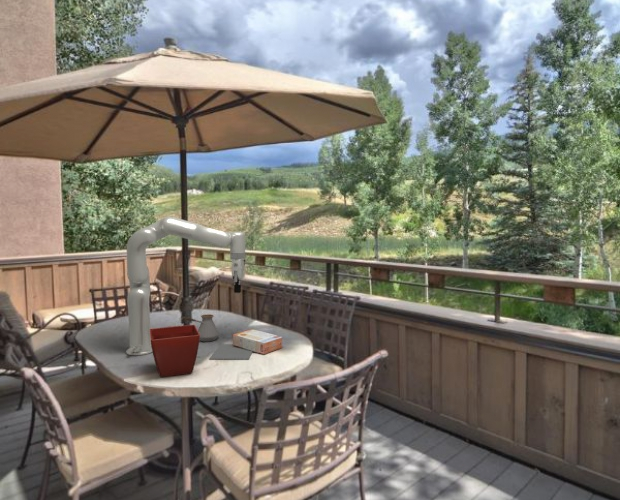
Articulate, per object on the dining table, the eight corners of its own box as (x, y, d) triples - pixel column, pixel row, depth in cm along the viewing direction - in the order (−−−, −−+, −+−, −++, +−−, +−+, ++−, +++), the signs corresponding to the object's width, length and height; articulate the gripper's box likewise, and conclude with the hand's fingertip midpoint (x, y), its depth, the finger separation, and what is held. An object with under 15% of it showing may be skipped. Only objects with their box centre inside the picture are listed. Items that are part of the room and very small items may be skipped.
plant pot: (150, 366, 192) (149, 328, 190) (195, 360, 198) (194, 324, 197) (151, 381, 174) (150, 339, 172) (201, 375, 181) (200, 335, 179)
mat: (248, 359, 199) (248, 358, 199) (209, 359, 200) (209, 358, 200) (255, 345, 221) (255, 344, 221) (220, 345, 222) (220, 344, 222)
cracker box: (232, 345, 218) (263, 355, 206) (232, 333, 217) (264, 342, 205) (251, 339, 229) (282, 348, 217) (251, 328, 229) (283, 336, 217)
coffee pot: (210, 335, 240) (210, 308, 238) (223, 339, 232) (222, 311, 230) (175, 343, 224) (174, 314, 223) (187, 348, 216) (186, 318, 215)
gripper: (242, 258, 214) (242, 295, 215) (247, 255, 229) (247, 290, 230) (227, 257, 214) (227, 295, 215) (233, 255, 229) (233, 289, 230)
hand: (237, 292), depth 223 cm, fingers closed
